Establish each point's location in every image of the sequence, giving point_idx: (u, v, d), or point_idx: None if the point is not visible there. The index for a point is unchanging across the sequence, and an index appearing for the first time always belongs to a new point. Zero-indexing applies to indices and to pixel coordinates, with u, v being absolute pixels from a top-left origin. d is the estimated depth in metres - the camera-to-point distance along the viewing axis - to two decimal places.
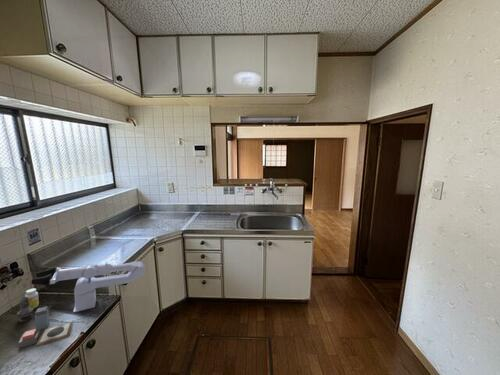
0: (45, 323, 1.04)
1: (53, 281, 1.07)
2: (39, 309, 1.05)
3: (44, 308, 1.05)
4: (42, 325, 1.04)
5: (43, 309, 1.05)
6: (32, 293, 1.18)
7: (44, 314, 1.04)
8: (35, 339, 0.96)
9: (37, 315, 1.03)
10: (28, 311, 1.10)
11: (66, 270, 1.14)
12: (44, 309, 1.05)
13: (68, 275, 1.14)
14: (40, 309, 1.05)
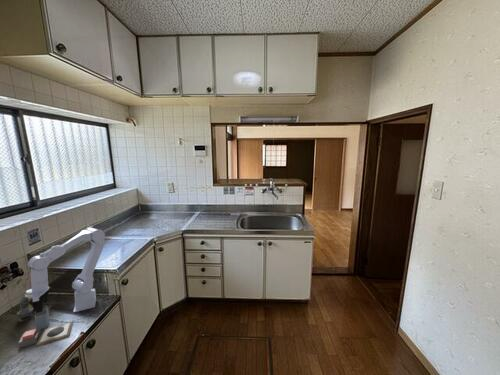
0: (45, 323, 1.04)
1: (35, 298, 0.98)
2: None
3: (44, 308, 1.05)
4: (42, 325, 1.04)
5: (43, 309, 1.05)
6: None
7: (44, 314, 1.04)
8: (35, 339, 0.96)
9: (37, 315, 1.03)
10: (28, 311, 1.10)
11: (31, 285, 1.01)
12: (44, 309, 1.05)
13: (36, 283, 1.01)
14: None
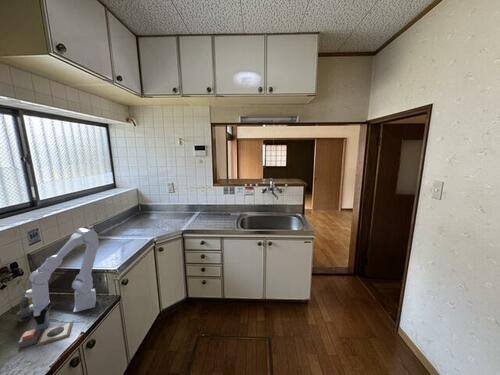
0: (45, 323, 1.04)
1: (36, 313, 0.98)
2: None
3: (44, 308, 1.05)
4: (42, 325, 1.04)
5: (43, 309, 1.05)
6: None
7: None
8: (35, 339, 0.96)
9: None
10: (28, 311, 1.10)
11: (32, 299, 1.02)
12: (44, 309, 1.05)
13: (37, 297, 1.01)
14: None
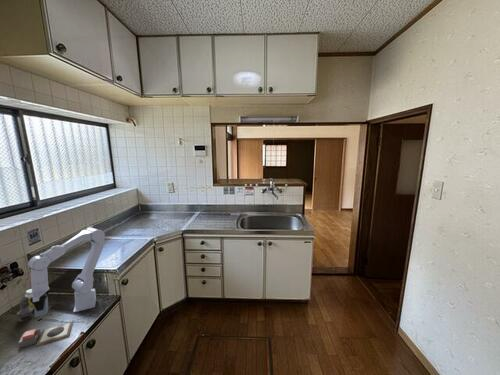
0: (44, 310, 1.04)
1: (35, 298, 0.98)
2: None
3: (43, 295, 1.05)
4: (41, 311, 1.03)
5: (42, 295, 1.04)
6: None
7: None
8: (35, 339, 0.96)
9: None
10: (28, 311, 1.10)
11: (31, 285, 1.01)
12: (43, 295, 1.04)
13: (36, 283, 1.01)
14: None
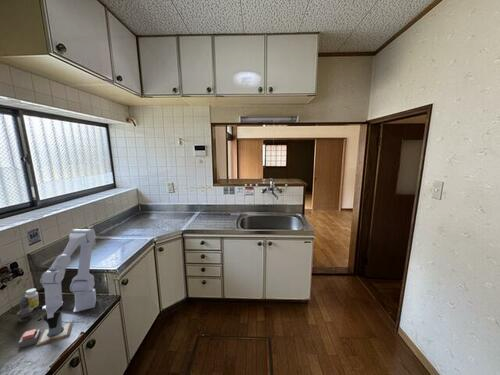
0: (58, 328, 1.00)
1: (49, 315, 0.94)
2: None
3: (57, 312, 1.01)
4: (55, 330, 1.00)
5: None
6: (32, 293, 1.18)
7: None
8: (35, 339, 0.96)
9: None
10: (28, 311, 1.10)
11: (45, 300, 0.97)
12: None
13: (51, 298, 0.97)
14: None
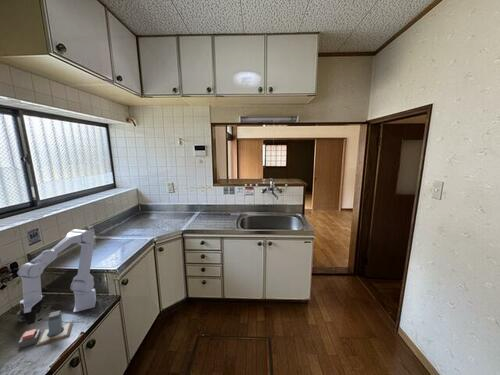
0: (58, 328, 1.00)
1: (26, 309, 0.90)
2: (52, 313, 1.00)
3: (57, 312, 1.01)
4: (55, 330, 1.00)
5: (56, 313, 1.00)
6: None
7: (57, 319, 1.00)
8: (35, 339, 0.96)
9: (50, 320, 0.99)
10: None
11: (23, 294, 0.93)
12: (57, 313, 1.00)
13: (28, 292, 0.93)
14: (53, 313, 1.00)
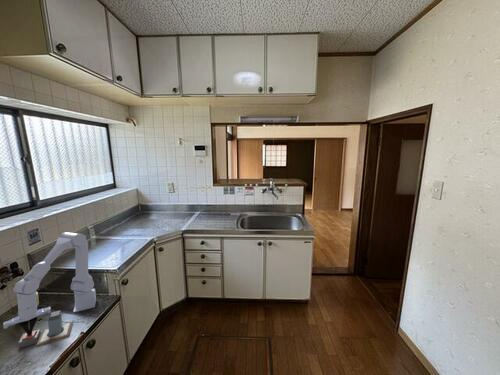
0: (58, 328, 1.00)
1: (3, 324, 0.91)
2: (52, 313, 1.00)
3: (57, 312, 1.01)
4: (55, 330, 1.00)
5: (56, 313, 1.00)
6: None
7: (57, 319, 1.00)
8: (35, 339, 0.96)
9: (50, 320, 0.99)
10: None
11: None
12: (57, 313, 1.00)
13: (18, 308, 0.93)
14: (53, 313, 1.00)
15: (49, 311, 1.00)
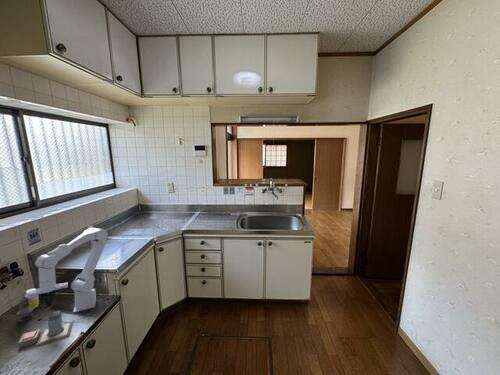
0: (58, 328, 1.00)
1: (26, 294, 1.00)
2: (52, 313, 1.00)
3: (57, 312, 1.01)
4: (55, 330, 1.00)
5: (56, 313, 1.00)
6: None
7: (57, 319, 1.00)
8: (35, 339, 0.96)
9: (50, 320, 0.99)
10: (28, 311, 1.10)
11: None
12: (57, 313, 1.00)
13: (39, 280, 1.02)
14: (53, 313, 1.00)
15: (66, 286, 1.08)
